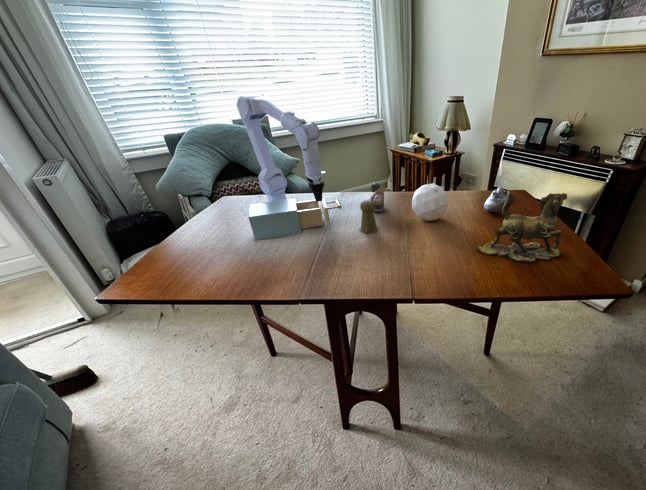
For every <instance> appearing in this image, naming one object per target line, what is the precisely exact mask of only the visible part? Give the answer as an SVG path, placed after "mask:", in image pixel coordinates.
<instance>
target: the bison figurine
mask: <svg viewBox="0 0 646 490" xmlns="http://www.w3.org/2000/svg"><path fill="white" fill-rule="evenodd" d="M370 187H371V188H370V189H371V192H372V195H370V198H369V201H372V202H373V203H374V205H375V208H374V210H373V211H374V213H381V212H382V211H383V210H384V208H385V191H384V188H383V187H382V186H381V184H380V183H379V182H376V181H374V182H373V183H372V184H371V185H370Z"/></svg>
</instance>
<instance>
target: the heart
mask: <svg viewBox="0 0 646 490" xmlns="http://www.w3.org/2000/svg"><path fill="white" fill-rule="evenodd" d="M509 192H510V191H508V190H505V189H504V188H503V187H502V186H499V187H497V189H494V190H493V191H492V192H491V194H490V195H489V196H488V198H487V199H486V201H485V202H484V205H483V208H484V210H485V211H486V212H487V213H497V212H500V211H503V210H502V208H503V205H504V203H505V201H506V197H507V194H508V193H509Z"/></svg>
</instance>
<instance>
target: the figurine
mask: <svg viewBox="0 0 646 490" xmlns="http://www.w3.org/2000/svg"><path fill="white" fill-rule="evenodd" d="M508 192H509V193H508V194H507V197H506V201H505V203H504V205H503V208H502V210H501V212H502V216H503V217H504V219H503V220H502V226H501V227H500V228H499V227H496V228H495V229H494V233H495V237H494V239H493V240H491V241H490V242H487V243H484V244H483V245H482V246H481V245H479V246H478V247H477V251H479V252H480V253H481V254H484V255H487V256H499V257H503V258H504V257H505V258H509V259H511V260H513V261H514V262H517V263H527V264H531V263H532V264H533V263H534V262H536V260H542V261H551V258H552V259H555V258H559V257H560V256H561V251H560V250H559V249H558V247H559V245H560V243H561V242H562V231H561V230H560V229H556V228H557V226H558V225H557V224H558V217H557V214H558V211H559V209H560V208H561V206H563V204H564V201H566V200H567V199H568V194H567V193H565V192H563V193H549V194H547V195H546V196H544V197H541V199H539V200H540V201H539V207H540V210H541V211H542V213H541V214H540V215H539V216H537V215H535V216H528V215H527V216H526V215H522V214H511V215H510V214H509V209H510V208H511V207H512V206H513V205H514V203H515V196H514V195H513V193H512V191H510V190H509V191H508ZM504 235H508V241H511V242H513V243H512V244H510V245H507V244H500V243H499V244H498V242H499V241H500V240H501V239H500V238H501V236H504ZM553 237H556V240H555V243H553V244H552V247H551V243H550V242H549V239H551V238H553ZM535 239H540V240H543V242H544V245H545V247H542V244H541V243H540V242H537V241H532V242H529V243H524V244H523V243H522V241H521V240H527V241H531V240H535Z"/></svg>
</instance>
